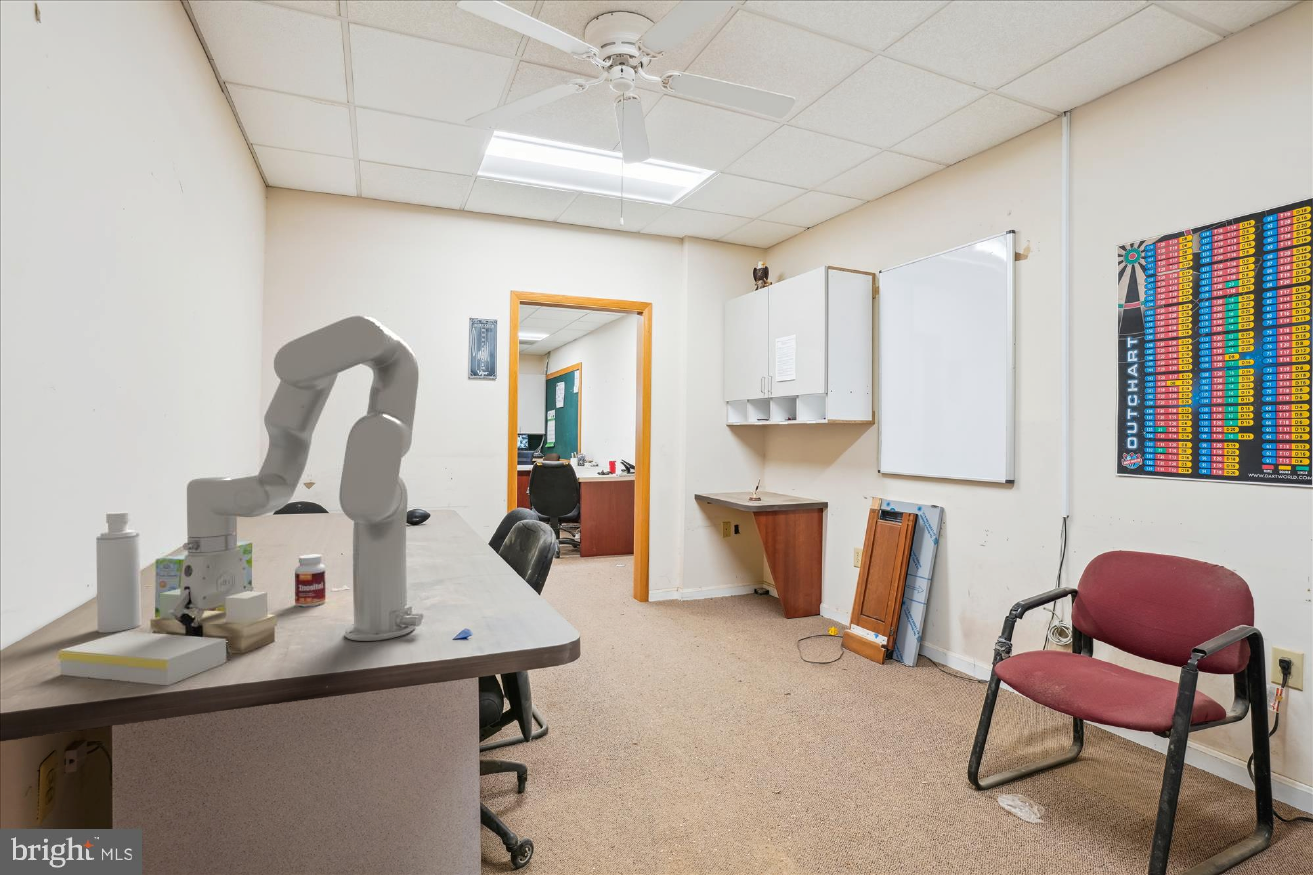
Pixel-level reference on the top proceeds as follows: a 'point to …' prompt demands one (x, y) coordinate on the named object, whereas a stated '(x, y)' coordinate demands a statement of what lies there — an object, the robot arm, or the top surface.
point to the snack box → (172, 570)
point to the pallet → (224, 630)
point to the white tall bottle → (118, 576)
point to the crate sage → (168, 603)
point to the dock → (143, 657)
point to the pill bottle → (310, 581)
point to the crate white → (246, 607)
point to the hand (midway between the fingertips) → (214, 639)
